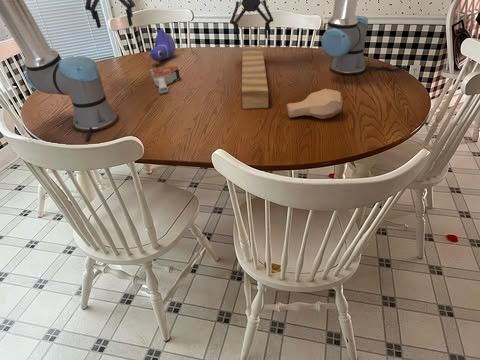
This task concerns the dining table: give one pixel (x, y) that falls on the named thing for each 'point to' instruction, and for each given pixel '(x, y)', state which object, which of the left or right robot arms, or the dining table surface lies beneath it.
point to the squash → (317, 105)
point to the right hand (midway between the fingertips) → (252, 38)
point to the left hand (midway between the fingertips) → (115, 26)
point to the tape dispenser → (164, 77)
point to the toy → (162, 46)
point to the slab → (254, 78)
